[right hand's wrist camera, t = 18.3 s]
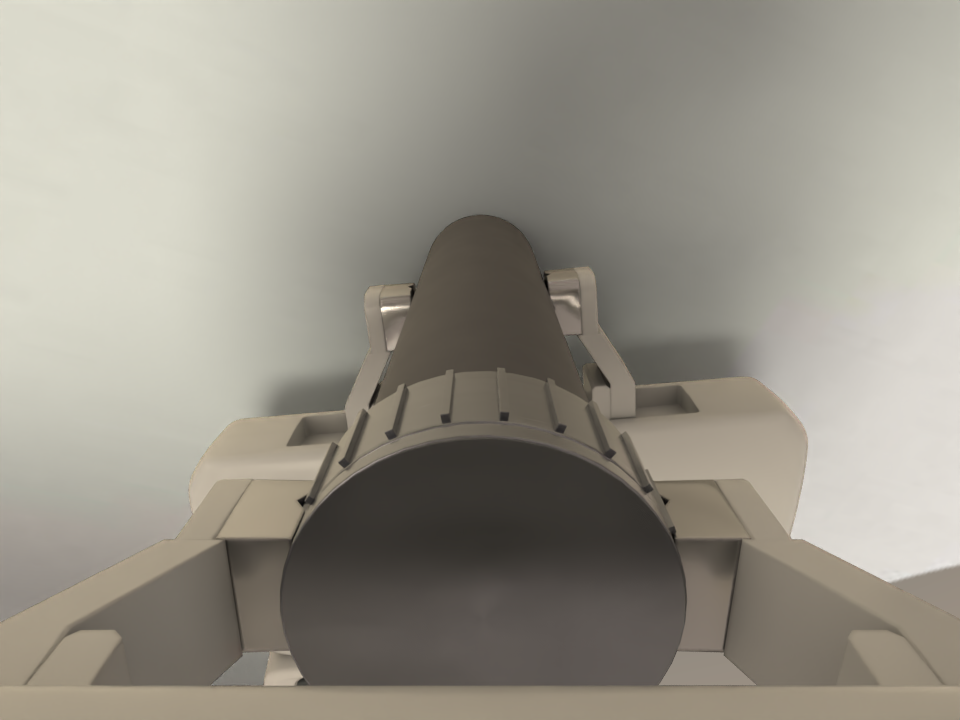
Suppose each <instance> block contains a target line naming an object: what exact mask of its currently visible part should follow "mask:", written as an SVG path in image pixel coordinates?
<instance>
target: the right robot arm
mask: <svg viewBox="0 0 960 720" xmlns="http://www.w3.org/2000/svg"><path fill="white" fill-rule="evenodd" d="M313 481H314V480H266V479H256V480H254V479H223V480H218V481H217V482H216V483H215V484H214V486H213V487H212V489H211V490H210V491H209V493H208V494H207V495H206V497H205V498H204V500H203V501H202V502H201V504H200V505H199V507H198V508H197V509H196V511H195V512H194V514H193V515H192V516H191V518H190V519H189V521H188V522H187V523H186V525H185V526H184V528H183V529H182V530H181V532H180V533H179V534H178V536H177V537H176V539H164V540H162V541H160V542H158V543H157V544H155V545H153V546H151V547H149V548H147V549H145V550H143V551H141V552H139V553H137V554H135V555H133V556H131V557H129V558H127V559H125V560H123V561H121V562H119V563H117V564H115V565H113V566H111V567H109V568H107V569H105V570H103V571H101V572H99V573H97V574H95V575H93V576H91V577H89V578H87V579H85V580H83V581H82V582H80V583H78V584H76V585H74V586H72V587H70V588H68V589H66V590H64V591H62V592H60V593H58V594H56V595H54V596H52V597H50V598H48V599H46V600H44V601H42V602H40V603H38V604H36V605H34V606H32V607H30V608H28V609H26V610H24V611H22V612H20V613H18V614H16V615H14V616H12V617H10V618H8V619H6V620H5V621H3V622H1V623H0V720H960V619H959V618H957V617H955V616H953V615H951V614H949V613H948V612H945V611H944V610H942V609H939V608H938V607H936V606H934V605H932V604H930V603H928V602H926V601H924V600H922V599H920V598H918V597H916V596H914V595H912V594H910V593H908V592H906V591H904V590H902V589H900V588H898V587H896V586H894V585H892V584H890V583H888V582H886V581H884V580H882V579H880V578H878V577H876V576H874V575H872V574H870V573H868V572H866V571H864V570H862V569H860V568H858V567H856V566H854V565H852V564H850V563H848V562H846V561H844V560H842V559H840V558H838V557H836V556H834V555H832V554H830V553H828V552H826V551H824V550H822V549H820V548H818V547H816V546H814V545H812V544H810V543H808V542H806V541H805V540H803V539H791V538H790V536H789V535H788V533H787V532H786V531H785V529H784V528H783V527H782V525H781V524H780V523H779V521H778V520H777V519H776V517H775V516H774V515H773V513H772V512H771V511H770V509H769V508H768V506H767V505H766V504H765V502H764V501H763V500H762V498H761V497H760V496H759V494H758V493H757V492H756V490H755V489H754V488H753V486H752V485H751V484H750V482H749V481H747V480H745V479H719V480H713V479H712V480H671V481H654V483H655V485H656V488H657V490H658V492H659V494H660V496H661V498H662V500H663V503H664V505H665V507H666V509H667V511H668V513H669V515H670V517H671V520H672V522H673V524H674V526H675V529H676V533H674V534H671V535H672V538H673V540H674V542H675V545H676V547H677V549H678V552H679V554H680V557H681V561H682V565H683V569H684V573H685V577H686V590H687V608H686V620H685V625H684V629H683V633H682V637H681V641H680V645H679V647H678V649H677V651H696V652H724V656H725V657H726V658H727V659H729V660H730V661H731V662H732V663H733V664H734V665H735V666H736V667H737V668H739V669H740V670H741V671H742V672H743V673H744V674H745V675H746V676H747V677H748V678H750V679H751V680H752V681H753V682H754V683H755V684H756V685H757V686H210V685H211V684H212V683H213V682H214V681H215V680H216V679H217V678H219V677H220V676H221V675H222V674H223V673H224V672H225V671H226V670H227V669H228V668H230V667H231V666H232V665H233V664H234V663H235V662H236V661H237V660H238V659H239V658H240V657H242V656H243V655H242V652H271V651H290V650H289V647H288V644H287V641H286V639H285V636H284V631H283V625H282V619H281V614H280V587H281V580H282V573H283V568H284V564H285V561H286V558H287V555H288V552H289V549H290V546H291V544H292V542H293V539H294V537H295V535H296V533H297V531H298V528H299V525H300V523H301V521H302V519H303V516H304V514H305V510H304V508H303V505H304V502H305V499H306V497H307V495H308V493H309V490H310V488H311V486H312V484H313Z"/></svg>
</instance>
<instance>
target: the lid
mask: <svg viewBox="0 0 960 720" xmlns="http://www.w3.org/2000/svg"><path fill="white" fill-rule="evenodd" d="M303 508H304V510H305V514H304V516H303V519H302V521H301V523H300V525H299V528H298V531H297V533H296V535H295V537H294V539H293V542H292V544H291V546H290V549H289V552H288V555H287V558H286V561H285V564H284V568H283V573H282V580H281V587H280V614H281V619H282V625H283V631H284V636H285V639H286V641H287V644H288V647H289V650H290V653H291V656H292V658H293V660H294V662H295V664H296V666H297V667H298V669H299V671H300V673H301V675H302V676H303V678H304V679H305V681H306V682H307V683H308V685H309V686H658V685H659V683H660V682H661V680H662V679H663V677H664V675H665V674H666V672H667V670H668V669H669V667H670V665H671V664H672V661H673V659H674V657H675V654H676V652H677V649H678V647H679V645H680V641H681V637H682V633H683V629H684V625H685V620H686V608H687V590H686V577H685V573H684V569H683V565H682V561H681V557H680V554H679V552H678V549H677V547H676V545H675V542H674V540H673V538H672V535H671V534H674V533H676V529H675V526H674V524H673V522H672V520H671V517H670V515H669V513H668V511H667V509H666V507H665V505H664V503H663V500H662V498H661V496H660V494H659V492H658V490H657V488H656V485H655V483H654V481H653V479H652V477H651V475H650V473H649V470H648V469H646V470H645V468H644V466H643V464H642V462H641V460H640V458H639V455H638V453H637V451H636V449H635V447H634V444H633V442H632V440H631V438H630V436H629V435H628V433H627V432H626V431H625V432H624V433H622V434H621V433H620V432H619V431H618V430H617V428H616V427H615V426H614V425H613V424H612V423H611V422H610V421H609V420H608V419H607V418H606V417H605V416H604V415H603V414H601V412H600V410H599V407H598V405H597V403H596V402H594V401H593V400H591V401H590V402H589V403H587V402H586V401H584V400H583V399H581V398H580V397H578V396H576V395H574V394H572V393H570V392H568V391H566V390H564V389H562V388H560V387H558V386H556V384H555V381H554V380H553V379H550V378H547V380H546V382H545V381H542V380H539V379H536V378H532V377H528V376H523V375H518V374H514V373H505V368H497V372H493V371H476V372H461V373H454V370H453V369H452V370H446V375H442V376H438V377H434V378H431V379H428V380H424V381H421V382H418V383H415V384H413V385H411V386H408V387H407V386H406V384H405V383H404V384H401V385H399V386H398V388H397V392H395V393H394V394H392V395H390V396H388V397H387V398H385V399H383V400H382V401H380V402H378V403H377V404H376V405H375V406H373V407H372V408H371V409H369V410H368V411H366V410H365V409H361V410H360V411H359V412H358V414H357V416H356V419H355V421H354V424H353V425H352V426H351V427H350V428H349V429H348V430H347V431H346V433H345V434H344V436H343V437H342V438H341V440H340V441H339V443H338V444H336V443H334V442H332V443H331V445H330V446H329V448H328V450H327V452H326V455H325V457H324V459H323V461H322V464H321V466H320V468H319V470H318V472H317V475H316V477H315V479H314V481H313V484H312V486H311V488H310V490H309V493H308V495H307V497H306V499H305V502H304V505H303Z"/></svg>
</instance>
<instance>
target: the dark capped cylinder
mask: <svg viewBox="0 0 960 720" xmlns="http://www.w3.org/2000/svg"><path fill="white" fill-rule="evenodd" d="M497 368H505V373H514V374H518V375H523V376H528V377H532V378H536V379H539V380H542V381H545V382H546V380H547V378H550V379H553V380H554V381H555V384H556V386H558V387H560V388H562V389H564V390H566V391H568V392H570V393H572V394H574V395H576V396H578V397H580V398H581V399H583V400H584V401H586V402H587V403H589V401H588V398H587V396H586V393H585V390H584V388H583V385H582V382H581V380H580V377H579V374H578V372H577V369H576V366H575V364H574V361H573V358H572V356H571V353H570V350H569V347H568V345H567V342H566V339H565V337H564V334H563V331H562V329H561V326H560V323H559V321H558V318H557V315H556V313H555V310H554V307H553V305H552V302H551V299H550V297H549V294H548V291H547V288H546V286H545V283H544V280H543V278H542V275H541V272H540V270H539V267H538V264H537V262H536V259H535V256H534V254H533V251H532V248H531V246H530V244H529V242H528V241H527V239H526V238H525V236H524V235H523V234H522V233H521V232H520V231H519V230H518V229H517V228H516V227H515V226H513V225H512V224H510V223H509V222H507V221H505V220H503V219H500V218H497V217H494V216H488V215H474V216H469V217H465V218H462V219H459V220H457V221H455V222H454V223H452V224H450V225H449V226H448V227H446V228H445V229H444V230H443V231H442V232H441V233H440V234H439V235H438V237H437V238H436V240H435V241H434V243H433V245H432V247H431V249H430V252H429V254H428V257H427V260H426V263H425V265H424V268H423V271H422V274H421V277H420V279H419V282H418V285H417V288H416V291H415V293H414V296H413V299H412V302H411V305H410V307H409V310H408V313H407V316H406V319H405V321H404V324H403V327H402V330H401V333H400V335H399V338H398V341H397V344H396V347H395V349H394V352H393V355H392V358H391V360H390V363H389V366H388V369H387V372H386V374H385V377H384V380H383V383H382V386H381V388H380V391H379V394H378V397H377V400H376V402H375V405H376V404H377V403H378V402H380V401H382V400H383V399H385V398H387V397H388V396H390V395H392V394H394V393H395V392H397V388H398V386H399V385H401V384H404V383H405V384H406V386H407V387H408V386H411V385H413V384H415V383H418V382H421V381H424V380H428V379H431V378H434V377H438V376H442V375H446V370H452V369H453V370H454V373H461V372H476V371H493V372H497ZM375 405H374V406H375Z"/></svg>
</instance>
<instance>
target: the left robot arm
mask: <svg viewBox="0 0 960 720" xmlns="http://www.w3.org/2000/svg"><path fill="white" fill-rule="evenodd" d="M544 283H545V286H546V288H547V291H548V294H549V297H550V299H551V302H552V305H553V307H554V310H555V313H556V315H557V318H558V321H559V323H560V326H561V329H562V331H563V334H564V335H577V336H578V337H579V339H580V340H581V342H582V343H583V345H584V346H585V348H586V349H587V351H588V352H589V354H590V355H591V357H592V358H593V359H594V361H595V362H596V363H586V364H585V365H584V366H583V388H584V390H585V393H586V396H587V398H588V401H589V402H590V401H591V400H593V401H594V402H596V403H597V405H598V407H599V410H600V412H601V414H603V415H604V416H605V417H606V418H607V419H608V420H609V421H610V422H611V423H612V424H613V425H614V426H615V427H616V428H617V430H618V431H619V432H620V433H621V434H622V433H624V432H625V431H626V432H627V433H628V435H629V436H630V438H631V440H632V442H633V444H634V447H635V449H636V451H637V453H638V455H639V458H640V460H641V462H642V464H643V466H644V468H645V470H646V469H648V470H649V473H650V475H651V477H652V479H653V481H671V480H712V479H713V480H719V479H745V480H747V481H749V482H750V484H751V485H752V486H753V488H754V489H755V490H756V492H757V493H758V494H759V496H760V497H761V498H762V500H763V501H764V502H765V504H766V505H767V506H768V508H769V509H770V511H771V512H772V513H773V515H774V516H775V517H776V519H777V520H778V521H779V523H780V524H781V525H782V527H783V528H784V529H785V531H786V532H787V533H788V535H789V536H790V534H791V530H792V527H793V523H794V520H795V516H796V511H797V507H798V503H799V498H800V494H801V489H802V484H803V478H804V472H805V466H806V460H807V451H808V438H807V434H806V431H805V429H804V427H803V425H802V423H801V422H800V420H799V419H798V418H797V417H796V415H795V414H794V413H793V412H792V411H791V409H790V408H789V407H788V406H787V405H786V404H785V403H784V402H783V401H782V400H781V399H780V398H779V397H778V396H777V395H776V394H774V393H773V392H772V391H771V390H769V389H768V388H767V387H766V386H765V385H763V384H762V383H761V382H760V381H758V380H756V379H754V378H752V377H729V378H718V379H706V380H694V381H682V382H670V383H659V384H647V385H635V381H634V379H633V378H632V376H631V374H630V372H629V371H628V369H627V367H626V365H625V363H624V362H623V360H622V358H621V357H620V355H619V354H618V352H617V351H616V349H615V348H614V346H613V345H612V343H611V342H610V340H609V339H608V338H607V336H606V335H605V333H604V332H603V330H602V329H601V327H600V326H599V324H598V311H597V286H596V280H595V275H594V273H593V271H592V270H591V269H590V267H589V266H588V267H577V268H566V269H557V270H547V271H544ZM415 291H416V287H415V284H414V283H405V284H391V285H377V286H370V287H369V288H368V290H367V291H366V293H365V295H364V311H365V317H366V324H367V330H368V337H369V343H370V348H369V350H368V352H367V355H366V357H365V359H364V362H363V364H362V367H361V369H360V371H359V374H358V376H357V378H356V381H355V383H354V385H353V388H352V390H351V392H350V395H349V397H348V400H347V402H346V404H345V410H340V411H328V412H316V413H304V414H292V415H280V416H268V417H256V418H244V419H239V420H236V421H234V422H232V423H231V424H229V425H228V426H227V427H226V428H225V429H224V430H223V432H222V433H221V434H220V435H219V436H218V437H217V438H216V439H215V441H214V442H213V443H212V444H211V445H210V446H209V448H208V449H207V451H206V452H205V454H204V455H203V456H202V458H201V459H200V461H199V463H198V464H197V466H196V468H195V470H194V472H193V474H192V476H191V479H190V483H189V490H188V491H189V501H190V506H191V510H192V514H194V512H195V511H196V509H197V508H198V507H199V505H200V504H201V502H202V501H203V500H204V498H205V497H206V495H207V494H208V493H209V491H210V490H211V489H212V487H213V486H214V484H215V483H216V482H217V481H218V480H223V479H254V480H256V479H266V480H314V479H315V477H316V475H317V472H318V470H319V468H320V466H321V464H322V461H323V459H324V457H325V455H326V452H327V450H328V448H329V446H330V445H331V443H332V442H334V443H336V444H338V443H339V441H340V440H341V438H342V437H343V436H344V434H345V433H346V431H347V430H348V429H349V428H350V427H351V426H352V425H353V424H354V421H355V419H356V416H357V414H358V412H359V411H360V410H361V409H365V410H366V411H368V410H369V409H371V408H372V407H373V406H374V405H375V402H376V400H377V397H378V394H379V391H380V388H381V386H382V383H383V381H381V382H380V383H379V384H378V382H379V379H380V377H381V375H382V372H383V370H384V368H385V365H386V363H387V361H388V358H389V356H390V354H391V351H394V349H395V347H396V344H397V341H398V338H399V335H400V333H401V330H402V327H403V324H404V321H405V319H406V316H407V313H408V310H409V307H410V305H411V302H412V299H413V296H414V293H415ZM264 686H309V685H308V683H307V682H306V681H305V679H304V678H303V676H302V675H301V673H300V671H299V669H298V667H297V666H296V664H295V662H294V660H293V658H292V656H291V653H290V651H271V652H270V654H269V659H268V664H267V668H266V673H265V678H264Z"/></svg>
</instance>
